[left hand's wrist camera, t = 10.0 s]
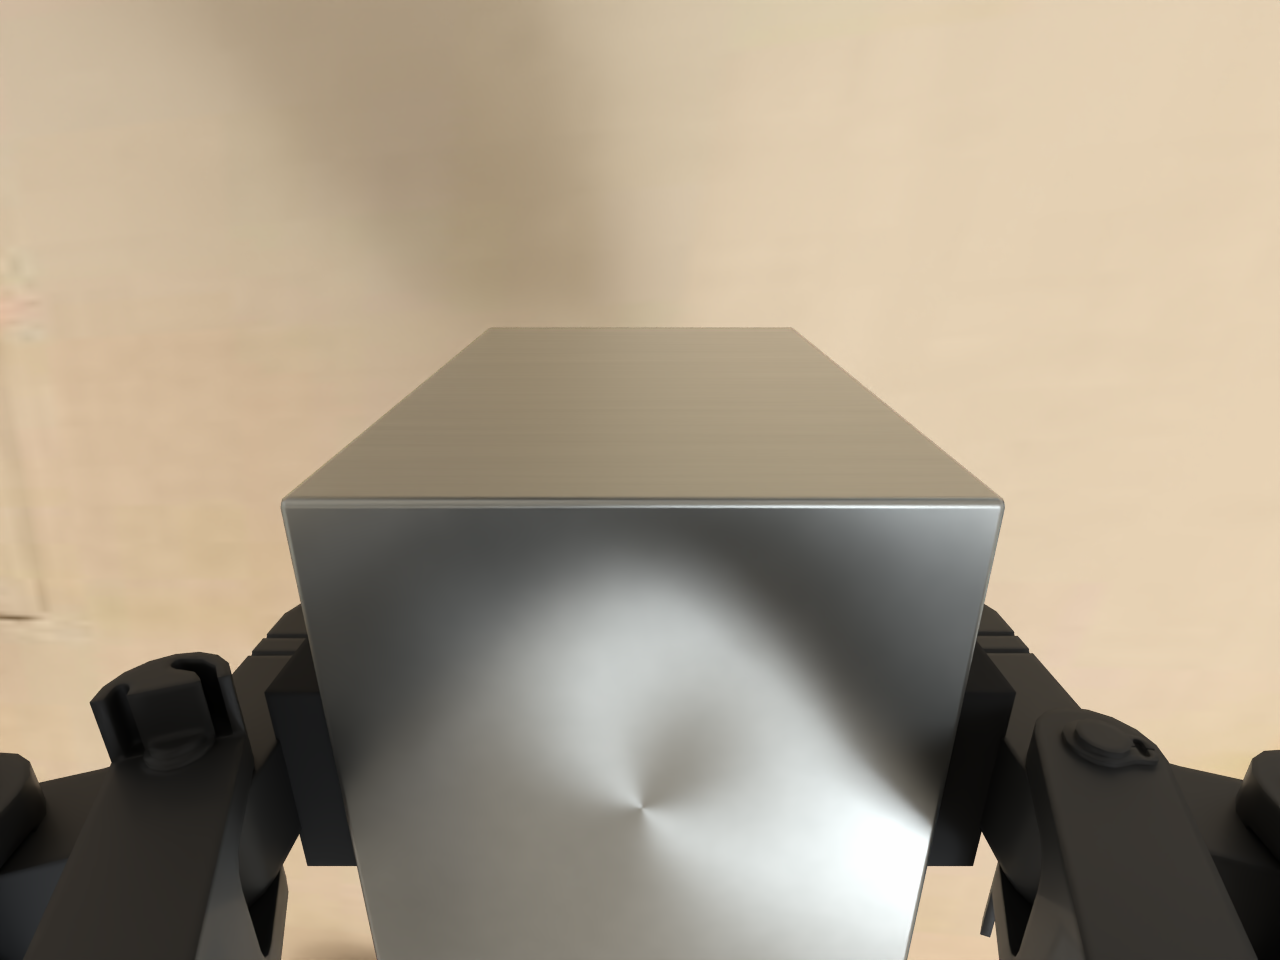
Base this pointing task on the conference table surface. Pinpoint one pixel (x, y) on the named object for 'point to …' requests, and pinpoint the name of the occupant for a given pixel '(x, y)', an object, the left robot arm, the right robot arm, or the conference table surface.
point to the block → (642, 649)
